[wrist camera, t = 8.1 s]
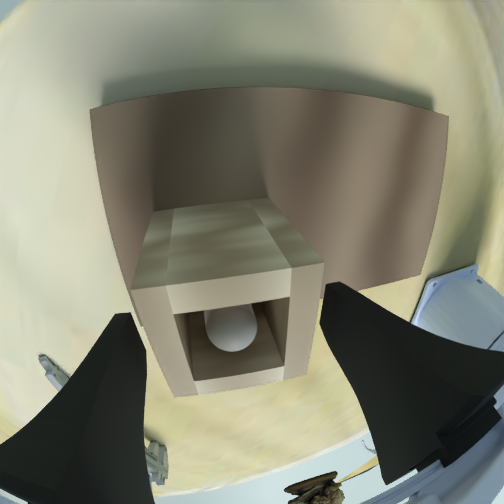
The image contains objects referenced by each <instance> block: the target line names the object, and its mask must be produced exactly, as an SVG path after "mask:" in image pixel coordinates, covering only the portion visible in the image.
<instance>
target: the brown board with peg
mask: <svg viewBox="0 0 504 504" xmlns="http://www.w3.org/2000/svg"><path fill="white" fill-rule="evenodd" d="M90 119H91V129H92V137H93V145H94V153H95V159H96V166H97V172H98V177H99V183H100V188H101V193H102V198H103V203H104V207H105V212H106V216H107V221H108V225H109V229H110V233H111V237H112V240H113V244H114V248H115V251H116V255H117V258H118V262H119V265H120V268H121V272H122V275H123V278H124V281H125V284H126V287H127V290H128V293H129V296H130V299H131V302H132V305H133V307H134V310H135V313H136V315H137V318H138V321H139V323H140V326H143V324H142V322H141V319H140V316H139V314H138V311H137V308H136V305H135V302H134V300H133V297H132V294H131V291H130V289H131V285H132V281H133V277H134V274H135V270H136V266H137V263H138V259H139V255H140V252H141V249H142V245H143V242H144V238H145V235H146V232H147V229H148V226H149V223H150V219H151V216H152V213H153V212H154V211H161V210H168V209H175V208H183V207H190V206H198V205H206V204H215V203H224V202H233V201H242V200H252V199H263V198H269V199H270V200H271V201H272V202H273V203H274V205H275V206H276V207H277V208H278V209H279V210H280V211H281V212H282V214H283V215H284V216H285V217H286V218H287V219H288V220H289V222H290V223H291V224H292V225H293V226H294V227H295V228H296V230H297V231H298V232H299V233H300V234H301V235H302V237H303V238H304V239H305V240H306V241H307V242H308V244H309V245H310V246H311V247H312V248H313V250H314V251H315V252H316V253H317V254H318V256H319V257H320V258H321V259H322V260H323V262H324V271H323V278H322V286H321V293H320V299H322V298H324V292H325V285H326V284H328V283H333V282H338V281H340V282H342V283H344V284H346V285H347V286H349V287H351V288H352V289H354V290H356V291H359V290H363V289H367V288H371V287H375V286H379V285H383V284H387V283H391V282H395V281H399V280H403V279H407V278H410V277H414V276H418V275H420V274H421V271H422V268H423V265H424V261H425V258H426V254H427V251H428V247H429V243H430V240H431V236H432V232H433V227H434V223H435V219H436V214H437V209H438V204H439V199H440V193H441V187H442V181H443V174H444V167H445V159H446V150H447V139H448V123H449V116H447V115H443V114H440V113H437V112H434V111H430V110H427V109H423V108H419V107H416V106H412V105H408V104H404V103H399V102H395V101H390V100H385V99H380V98H375V97H370V96H364V95H358V94H351V93H344V92H336V91H327V90H317V89H304V88H287V87H231V88H213V89H200V90H190V91H181V92H173V93H166V94H159V95H153V96H147V97H142V98H136V99H131V100H127V101H122V102H117V103H113V104H109V105H105V106H101V107H97V108H93V109H90ZM204 317H205V325H206V332H207V335H208V337H209V339H210V341H211V342H212V343H213V344H214V345H215V346H216V347H218V348H219V349H222V350H224V351H230V352H233V351H239V350H242V349H244V348H246V347H247V346H248V345H249V344H250V343H251V342H252V341H253V340H254V338H255V336H256V332H257V321H256V317H255V315H254V312H253V309H252V306H251V303H250V304H243V305H237V306H230V307H224V308H217V309H210V310H204Z"/></svg>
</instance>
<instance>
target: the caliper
mask: <svg viewBox="0 0 504 504" xmlns="http://www.w3.org/2000/svg"><path fill="white" fill-rule="evenodd" d="M38 359H39V361H40V362H39V363H40V364H41V365H42V366H43V368H44V369H45V370H46V371H47V372H46V373H45V376H46V377H47V379H48V380H49V381H50V382H51V383H52V385H53V386H54V387H55V388H56V389H57V390H58V391H60V390H61V389H62V388H63V386H64V385H65V384H66V383H67V381H68V380H69V378H68V377H67V375H65V374H64V373H63V372H62V371H61V370H60V369H59V368H58V367H57V366H56V365H55V366H53V364H52V363H51V362H50V360H49V359H48V358H47V357H46V356H42V357H39V358H38ZM145 455H146V462H147V469H148V472H149V473H152V476H151V482H152V481H156V484H157V485H164V481H165V479H167V478H168V455H167V448H166V447H165V446H160V447H159V442H157V441H156V442H150V444H149V447H148V449H147V448H146V447H145Z"/></svg>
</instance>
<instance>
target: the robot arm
mask: <svg viewBox="0 0 504 504" xmlns="http://www.w3.org/2000/svg"><path fill="white" fill-rule="evenodd" d="M477 270H478V265H477V264H474V265H472V266H469V267H466V268H463V269H460V270H457V271H454V272H451V273H448V274H445V275H442V276H439V277H436V278H432V279H430V280H428V282H427V283H426V286H425V288H424V291H423V294H422V297H421V299H420V302H419V304H418V307H417V310H416V312H415V314H414V317H413V319H412V322H411V323H410V322H408V321H406V320H404V319H402V318H400V317H398V316H397V315H395V314H393V313H391V312H390V311H388V310H386V309H385V308H383V307H381V306H380V305H378V304H376V303H375V302H373V301H372V300H370V299H368V298H367V297H365V296H364V295H362V294H360V293H359V292H357V291H356V290H354V289H352V288H351V287H349V286H347V285H346V284H344V283H342V282H340V281H338V282H333V283H328V284H326V285H325V292H324V298H323V305H322V311H321V317H320V323H319V324H320V326H321V329H322V331H323V334H324V336H325V339H326V341H327V344H328V346H329V347H330V349H331V351H332V353H333V355H334V356H335V358H336V360H337V362H338V363H339V365H340V367H341V369H342V370H343V372H344V374H345V376H346V377H347V379H348V381H349V383H350V384H351V386H352V388H353V390H354V392H355V394H356V396H357V398H358V401H359V403H360V406H361V408H362V411H363V413H364V416H365V418H366V421H367V424H368V427H369V430H370V432H371V436H372V439H373V442H374V445H375V449H376V453H377V457H378V461H379V465H380V469H381V475H382V478H383V480H384V482H385V484H386V485H388V484H390V483H392V482H394V481H396V480H397V479H399V478H401V477H403V476H404V475H406V474H408V473H410V472H411V471H413V470H415V469H417V471H418V473H417V474H416V475H414V476H412V477H411V478H409V479H407V480H406V481H404V482H402V483H400V484H398V485H397V486H395V487H393V488H391V489H389V490H387V491H385V492H383V493H381V494H379V495H377V496H375V497H373V498H371V499H369V500H367V501H364V502H362V503H360V504H397V503H399V502H401V501H402V500H404V499H405V498H407V497H409V496H410V497H409V500H408V502H406V503H404V504H491V503H492V501H493V500H494V499H495V498H496V496H497V495H498V493H499V492H500V490H501V489H502V488H503V486H504V297H503V296H502V295H501V294H500V293H499V292H498V291H497V290H496V289H494V288H493V287H492V286H491V285H490V284H489V283H487V282H486V281H485V280H484V279H483V278H481V277H480V276H479V275H478V274H477ZM146 379H147V360H146V349H145V347H144V344H143V342H142V340H141V337H140V335H139V332H138V330H137V327H136V325H135V322H134V320H133V317H132V315H131V312H129V313H119V314H115V315H114V316H113V318H112V319H111V321H110V322H109V324H108V325H107V326H106V328H105V329H104V331H103V332H102V334H101V335H100V337H99V338H98V340H97V341H96V343H95V344H94V346H93V347H92V348H91V350H90V351H89V353H88V354H87V356H86V357H85V359H84V360H83V361H82V363H81V364H80V365H79V367H78V368H77V369H76V371H75V372H74V374H73V375H72V376H71V378H70V379H69V380H68V381H67V383H66V384H65V385H64V386H63V388H62V389H61V390H60V391H59V392H58V393H57V395H56V396H55V397H54V398H53V399H52V400H51V401H50V402H49V403H48V404H47V405H46V406H45V407H44V408H43V409H42V410H41V411H40V412H39V413H38V414H37V415H36V416H35V417H34V418H33V419H32V420H31V421H30V422H29V423H28V424H27V425H25V426H24V427H23V428H22V429H21V430H19V431H18V432H17V433H16V434H14V435H13V436H12V437H10V438H9V439H7V440H6V441H5V442H3V443H2V444H0V489H2V490H4V491H6V492H8V493H10V494H12V495H14V496H16V497H18V498H20V499H22V500H24V501H26V502H28V504H155V502H154V499H153V494H152V490H151V485H150V480H149V475H148V469H147V462H146V455H145V445H144V427H143V425H144V406H145V392H146ZM0 504H18V503H16V502H14V501H12V500H10V499H8V498H6V497H4V496H2V495H0Z"/></svg>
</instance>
